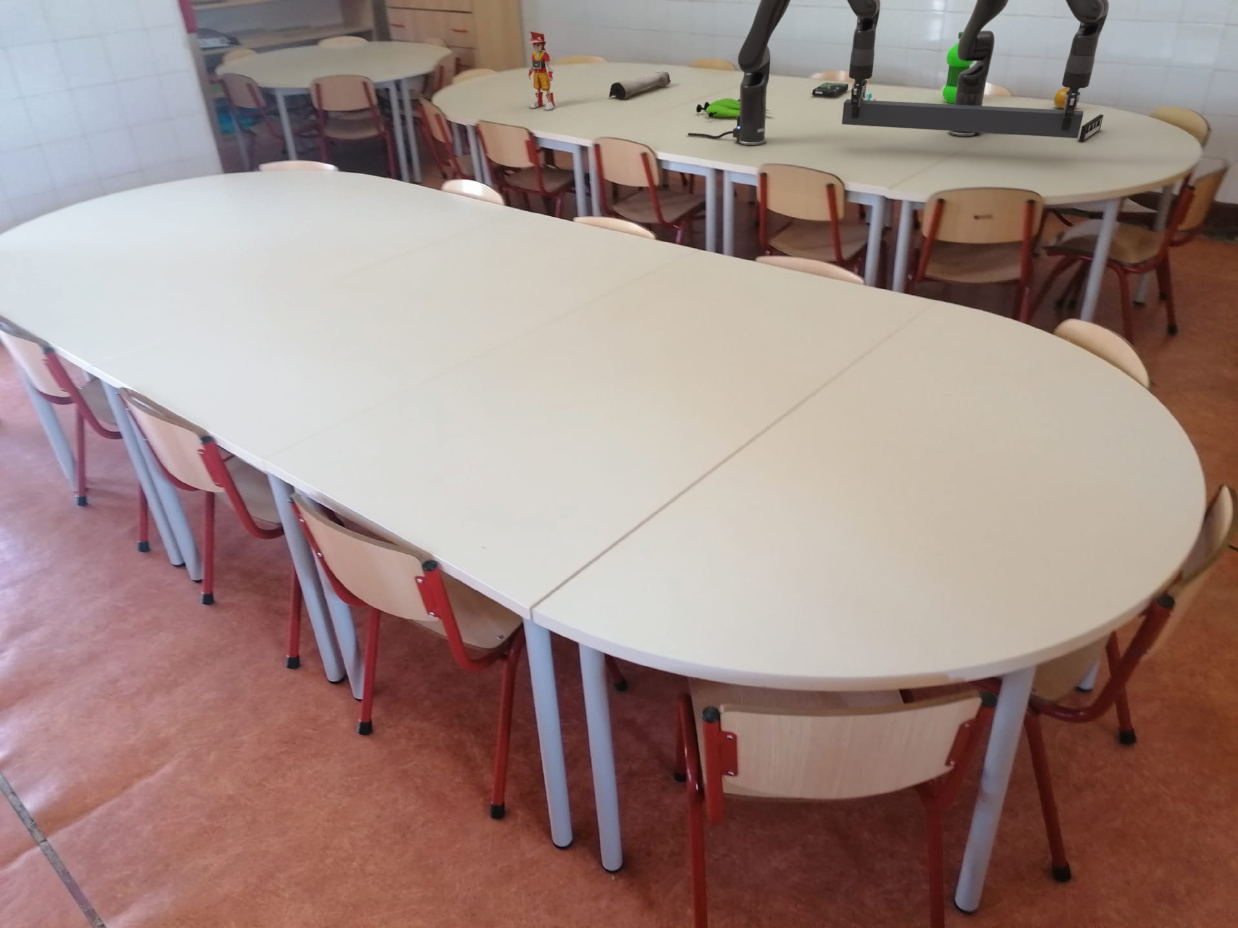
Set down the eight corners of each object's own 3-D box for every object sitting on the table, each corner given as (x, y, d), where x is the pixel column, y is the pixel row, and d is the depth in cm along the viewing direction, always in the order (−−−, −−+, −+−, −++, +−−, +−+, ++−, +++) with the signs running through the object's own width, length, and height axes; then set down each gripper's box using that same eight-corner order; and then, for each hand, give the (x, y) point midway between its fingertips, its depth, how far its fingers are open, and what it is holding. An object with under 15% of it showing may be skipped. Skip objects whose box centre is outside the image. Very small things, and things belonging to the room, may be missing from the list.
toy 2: (686, 116, 353) (756, 128, 340) (688, 102, 350) (757, 114, 337) (718, 105, 373) (784, 117, 360) (719, 92, 370) (786, 103, 358)
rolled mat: (651, 76, 408) (662, 61, 399) (662, 93, 408) (674, 79, 400) (605, 92, 391) (616, 77, 383) (617, 110, 391) (628, 95, 383)
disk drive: (835, 99, 369) (848, 90, 379) (836, 91, 367) (848, 83, 378) (811, 97, 374) (824, 88, 384) (812, 90, 372) (825, 81, 382)
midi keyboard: (1082, 141, 303) (1086, 126, 300) (1078, 141, 304) (1082, 126, 301) (1100, 129, 313) (1103, 115, 310) (1096, 129, 314) (1100, 114, 311)
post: (1077, 134, 283) (1083, 111, 279) (1077, 138, 279) (1083, 114, 275) (844, 121, 308) (846, 99, 304) (841, 124, 305) (843, 102, 301)
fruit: (1050, 100, 335) (1065, 80, 332) (1048, 104, 343) (1063, 84, 340) (1069, 112, 334) (1085, 93, 331) (1067, 116, 342) (1082, 96, 339)
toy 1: (525, 109, 381) (517, 32, 364) (534, 104, 388) (527, 28, 371) (550, 110, 377) (543, 32, 360) (559, 105, 384) (553, 28, 367)
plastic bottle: (973, 101, 354) (984, 32, 339) (955, 106, 349) (966, 36, 335) (952, 97, 361) (962, 29, 346) (934, 102, 356) (944, 33, 342)
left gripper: (854, 57, 301) (849, 110, 310) (845, 66, 290) (840, 121, 300) (877, 58, 298) (871, 111, 308) (869, 67, 287) (863, 122, 297)
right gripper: (1065, 64, 278) (1053, 121, 288) (1064, 74, 267) (1051, 133, 277) (1092, 65, 275) (1078, 122, 285) (1092, 75, 265) (1078, 134, 274)
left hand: (856, 116), depth 304 cm, fingers closed on post, 4 cm apart
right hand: (1065, 127), depth 281 cm, fingers closed on post, 4 cm apart
